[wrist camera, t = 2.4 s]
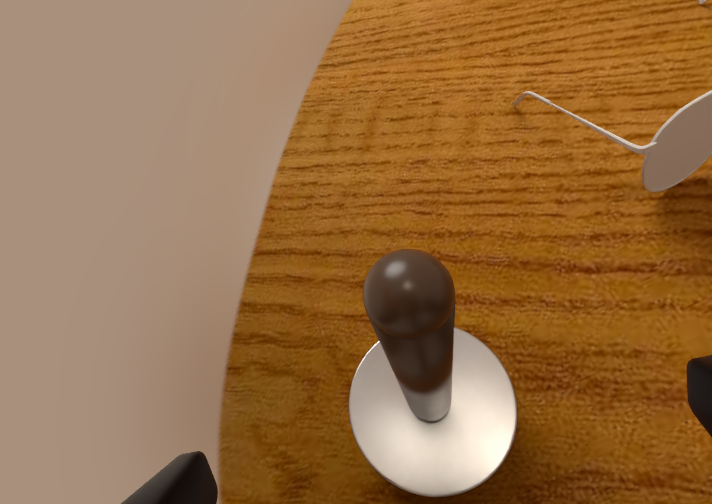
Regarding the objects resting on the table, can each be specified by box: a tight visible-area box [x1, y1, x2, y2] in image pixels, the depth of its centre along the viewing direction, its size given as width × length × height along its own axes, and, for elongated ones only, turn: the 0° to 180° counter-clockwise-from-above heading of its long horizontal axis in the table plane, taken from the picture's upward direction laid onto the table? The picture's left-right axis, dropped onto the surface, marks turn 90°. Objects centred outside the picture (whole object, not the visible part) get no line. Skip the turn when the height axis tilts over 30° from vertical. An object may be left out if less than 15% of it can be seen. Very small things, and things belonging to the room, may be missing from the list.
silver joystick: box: [349, 249, 518, 497], centre depth 12 cm, size 6×6×13 cm
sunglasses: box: [513, 0, 712, 192], centre depth 21 cm, size 14×8×5 cm, turn 118°
